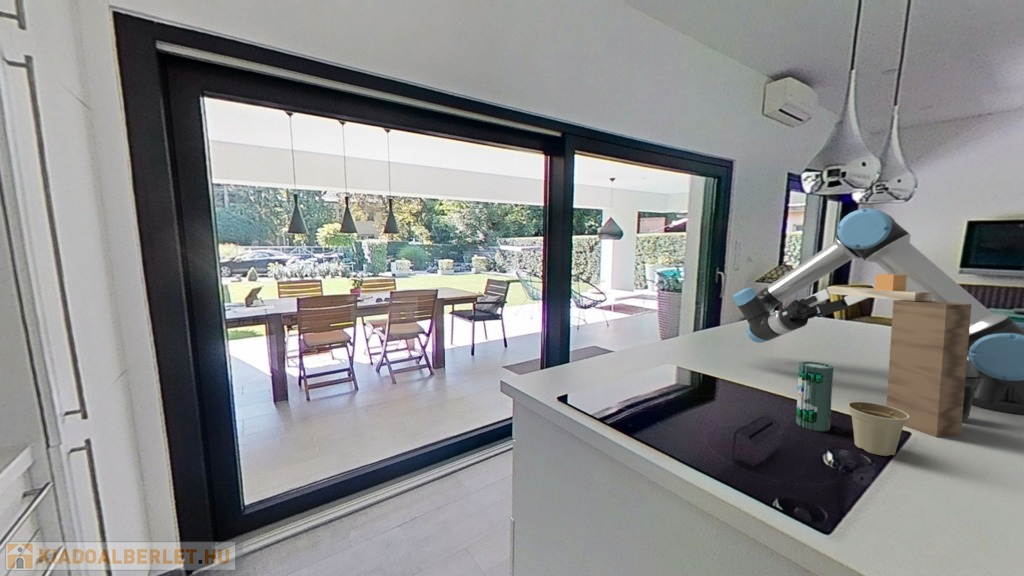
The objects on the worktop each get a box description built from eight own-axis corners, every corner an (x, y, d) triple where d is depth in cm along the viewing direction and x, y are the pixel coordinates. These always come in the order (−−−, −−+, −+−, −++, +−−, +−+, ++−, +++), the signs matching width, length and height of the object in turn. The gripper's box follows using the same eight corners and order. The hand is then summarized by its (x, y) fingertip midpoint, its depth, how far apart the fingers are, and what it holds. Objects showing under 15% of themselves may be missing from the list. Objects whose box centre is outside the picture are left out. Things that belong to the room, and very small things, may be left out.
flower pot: (920, 463, 74) (923, 420, 73) (864, 458, 76) (867, 417, 75) (883, 440, 83) (886, 402, 82) (834, 437, 85) (836, 400, 84)
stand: (908, 416, 96) (916, 299, 93) (960, 434, 86) (971, 304, 84) (885, 418, 94) (893, 300, 92) (936, 437, 85) (946, 305, 82)
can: (792, 419, 95) (795, 360, 94) (820, 421, 93) (824, 362, 92) (803, 429, 89) (807, 367, 88) (834, 432, 87) (838, 369, 86)
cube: (887, 289, 98) (888, 274, 98) (905, 290, 94) (906, 274, 94) (874, 289, 98) (875, 274, 97) (892, 290, 94) (893, 274, 93)
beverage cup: (943, 422, 92) (949, 342, 91) (924, 411, 99) (929, 336, 97) (984, 427, 89) (991, 344, 88) (962, 415, 96) (968, 338, 95)
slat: (841, 293, 110) (841, 286, 110) (931, 300, 90) (932, 292, 90) (826, 293, 109) (827, 286, 109) (914, 301, 89) (915, 292, 89)
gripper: (751, 310, 124) (805, 281, 106) (815, 308, 129) (877, 280, 110) (759, 331, 121) (816, 306, 102) (824, 328, 125) (891, 303, 107)
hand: (848, 292), depth 106 cm, fingers open, 13 cm apart
